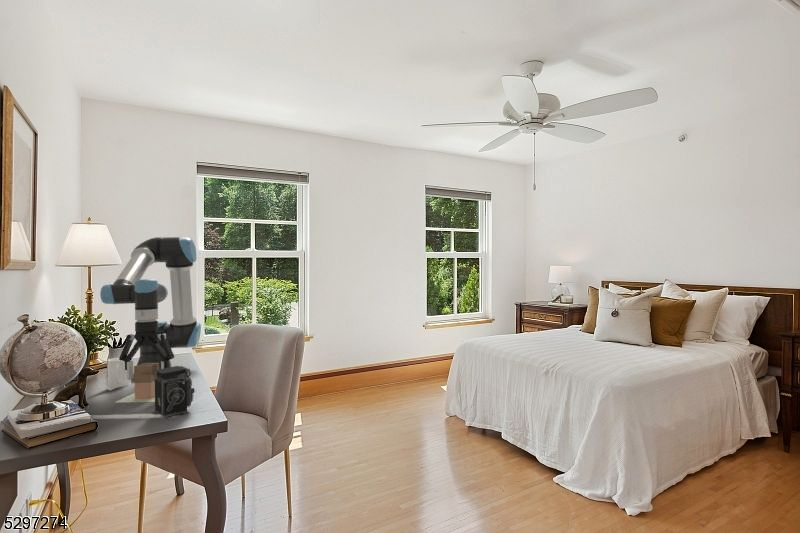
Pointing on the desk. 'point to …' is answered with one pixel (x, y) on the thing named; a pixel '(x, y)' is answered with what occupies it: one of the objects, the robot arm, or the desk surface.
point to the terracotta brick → (145, 390)
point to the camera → (173, 390)
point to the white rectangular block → (117, 374)
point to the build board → (132, 399)
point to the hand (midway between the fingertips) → (147, 378)
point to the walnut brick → (145, 372)
